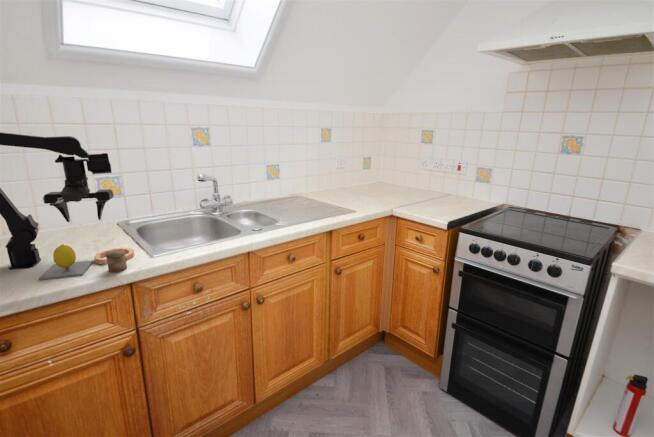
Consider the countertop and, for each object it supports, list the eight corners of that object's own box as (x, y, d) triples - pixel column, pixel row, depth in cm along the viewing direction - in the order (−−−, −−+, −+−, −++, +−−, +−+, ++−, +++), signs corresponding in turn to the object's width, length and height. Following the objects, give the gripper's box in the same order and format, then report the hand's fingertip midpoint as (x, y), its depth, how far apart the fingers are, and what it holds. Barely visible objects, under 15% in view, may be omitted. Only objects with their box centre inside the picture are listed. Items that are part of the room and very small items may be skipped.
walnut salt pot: (106, 273, 108) (103, 256, 106) (110, 267, 113) (107, 250, 111) (125, 271, 110) (123, 254, 108) (129, 265, 115) (126, 248, 113)
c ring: (91, 265, 113) (90, 261, 113) (100, 253, 124) (99, 249, 123) (130, 261, 117) (130, 257, 117) (136, 250, 127) (135, 246, 127)
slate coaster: (39, 280, 103) (38, 278, 103) (53, 265, 113) (53, 264, 113) (82, 275, 107) (82, 273, 106) (93, 261, 117) (92, 260, 116)
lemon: (81, 265, 112) (77, 241, 110) (70, 272, 107) (65, 247, 105) (64, 265, 112) (59, 241, 110) (51, 272, 107) (46, 247, 105)
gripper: (30, 180, 106) (41, 230, 110) (101, 178, 111) (109, 225, 116) (46, 175, 116) (55, 220, 120) (110, 173, 122) (117, 216, 126)
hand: (84, 220), depth 120 cm, fingers open, 9 cm apart
